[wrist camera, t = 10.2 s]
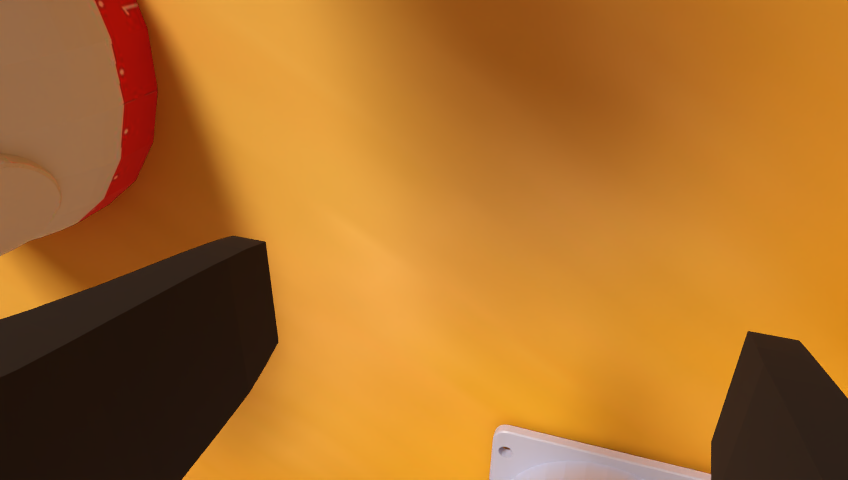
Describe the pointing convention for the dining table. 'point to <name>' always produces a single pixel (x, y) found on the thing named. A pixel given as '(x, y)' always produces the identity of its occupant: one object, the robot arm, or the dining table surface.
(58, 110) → the kitchen timer
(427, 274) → the dining table surface
